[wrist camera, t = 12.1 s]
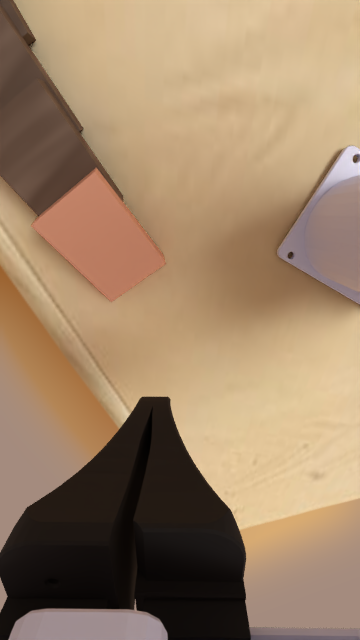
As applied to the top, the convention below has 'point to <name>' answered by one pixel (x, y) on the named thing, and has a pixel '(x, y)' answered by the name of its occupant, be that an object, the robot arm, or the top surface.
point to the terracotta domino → (100, 236)
